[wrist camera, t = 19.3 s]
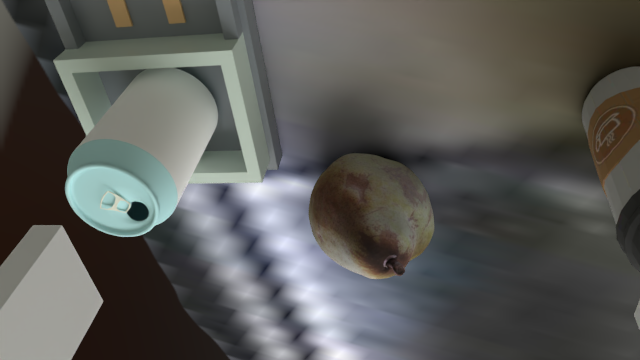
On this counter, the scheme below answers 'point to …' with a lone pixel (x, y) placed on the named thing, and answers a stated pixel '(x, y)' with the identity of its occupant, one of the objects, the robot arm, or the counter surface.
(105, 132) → the can
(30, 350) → the robot arm
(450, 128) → the counter surface
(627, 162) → the coffee cup
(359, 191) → the fruit
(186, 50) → the grey tray
